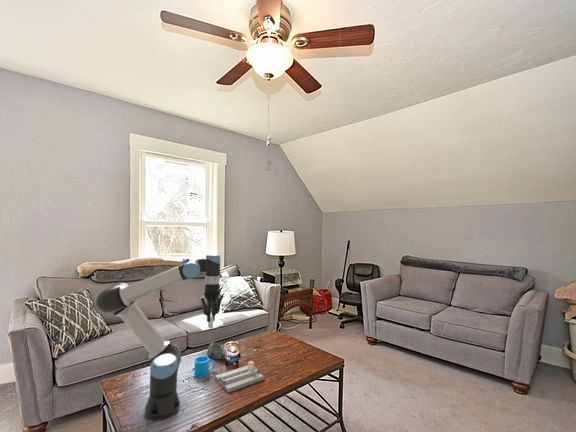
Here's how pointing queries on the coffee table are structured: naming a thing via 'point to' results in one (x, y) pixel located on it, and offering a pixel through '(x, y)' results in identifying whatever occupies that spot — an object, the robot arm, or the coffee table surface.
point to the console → (238, 378)
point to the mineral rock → (215, 351)
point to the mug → (202, 366)
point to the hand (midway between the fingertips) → (210, 327)
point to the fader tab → (250, 366)
